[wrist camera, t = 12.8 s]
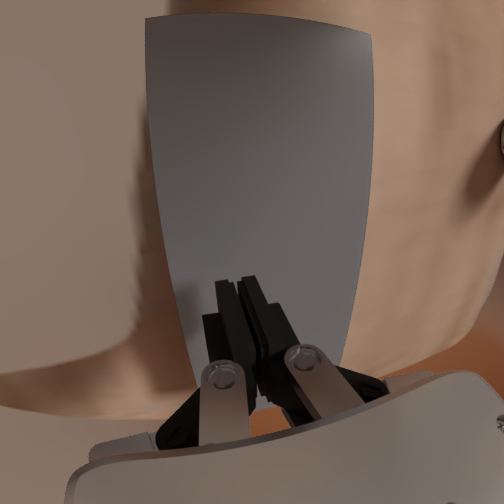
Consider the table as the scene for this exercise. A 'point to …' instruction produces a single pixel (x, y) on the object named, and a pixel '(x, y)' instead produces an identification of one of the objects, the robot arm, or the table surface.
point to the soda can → (502, 141)
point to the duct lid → (262, 165)
